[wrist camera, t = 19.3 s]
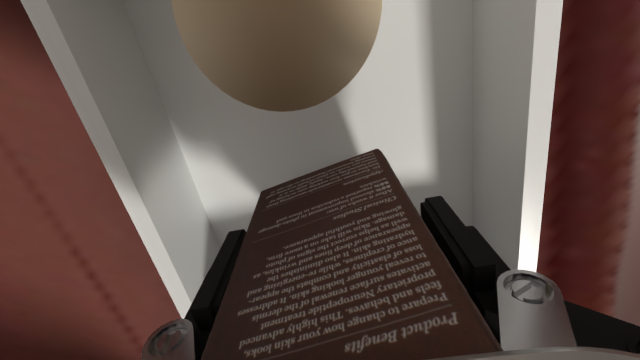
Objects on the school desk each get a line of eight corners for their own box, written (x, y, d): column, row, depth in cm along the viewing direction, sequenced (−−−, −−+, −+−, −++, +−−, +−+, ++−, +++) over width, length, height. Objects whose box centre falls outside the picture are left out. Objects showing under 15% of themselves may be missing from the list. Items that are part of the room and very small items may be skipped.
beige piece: (356, -46, 13) (394, -131, 6) (349, 81, 15) (372, 113, 8) (234, -49, 13) (149, -138, 6) (244, 78, 15) (188, 109, 8)
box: (297, 261, 16) (242, 739, 5) (259, 188, 14) (50, 659, 3) (410, 225, 15) (651, 710, 4) (383, 142, 13) (666, 581, 2)
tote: (482, 229, 19) (534, 288, 14) (221, 271, 20) (191, 337, 15) (486, -154, 12) (590, -281, 7) (90, -51, 13) (-33, -103, 9)
